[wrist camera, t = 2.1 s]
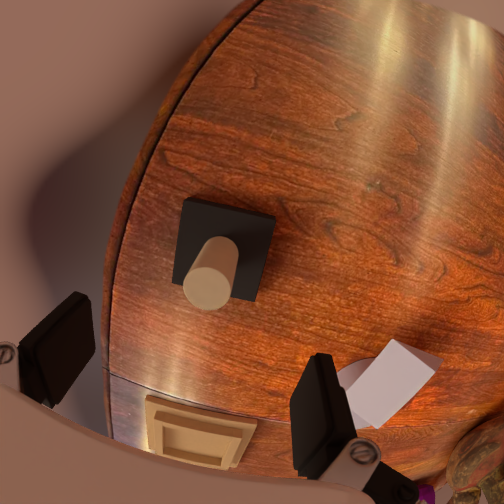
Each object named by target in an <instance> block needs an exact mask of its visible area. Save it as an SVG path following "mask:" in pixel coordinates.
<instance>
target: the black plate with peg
mask: <svg viewBox="0 0 504 504" xmlns="http://www.w3.org/2000/svg"><path fill="white" fill-rule="evenodd" d="M275 224H276V218H275V216H272V215H268V214H264V213H260V212H255V211H251V210H247V209H242V208H238V207H233V206H229V205H224V204H220V203H215V202H211V201H206V200H201V199H196V198H192V197H188V198H186V199H185V200H184V202H183V207H182V213H181V220H180V226H179V232H178V239H177V246H176V253H175V261H174V268H173V277H172V283H174V284H178V285H182V286H183V289H184V293H185V296H186V297H187V299H188V300H189V301H190V302H191V303H192V304H193V305H194V306H196V307H198V308H200V309H204V310H215V309H218V308H221V307H222V306H224V305H225V304H226V303H227V302H228V300H229V298H230V297H233V298H238V299H242V300H247V301H252V302H255V299H256V295H257V291H258V288H259V284H260V280H261V277H262V273H263V269H264V265H265V262H266V258H267V254H268V250H269V247H270V243H271V239H272V235H273V231H274V228H275Z"/></svg>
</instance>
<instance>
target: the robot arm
mask: <svg viewBox="0 0 504 504" xmlns="http://www.w3.org/2000/svg"><path fill="white" fill-rule="evenodd" d="M19 344H20V345H19V346H18V347H16V346H15V345H14V344H13V343H10V342H0V504H428V503H427V502H426V501H425V500H422V501H421V500H420V499H419V488H418V486H417V485H416V483H414V482H413V481H412V480H410V479H409V478H407V477H405V476H404V475H402V474H400V473H399V472H397V471H395V470H394V469H392V468H391V467H389V466H388V465H386V464H384V463H383V462H381V461H380V459H381V451H380V448H379V447H378V445H377V444H376V443H375V442H373V441H372V440H370V439H368V438H363V437H357V433H356V429H355V425H354V421H353V418H352V414H351V410H350V407H349V403H348V399H347V396H346V392H345V389H344V388H343V387H342V386H340V384H339V380H338V376H337V373H336V369H335V366H334V362H333V359H332V356H331V355H330V354H324V353H316V355H315V356H313V355H312V356H311V357H310V359H309V361H308V363H307V366H306V368H305V370H304V372H303V374H302V376H301V378H300V380H299V382H298V384H297V386H296V388H295V390H294V392H293V394H292V396H291V399H290V418H291V433H292V449H293V466H294V469H295V470H298V476H302V477H307V479H294V478H280V477H268V476H259V475H251V474H243V473H236V472H229V471H223V470H218V469H212V468H207V467H202V466H198V465H193V464H189V463H185V462H181V461H177V460H173V459H170V458H166V457H162V456H159V455H156V454H152V453H149V452H146V451H143V450H140V449H137V448H134V447H132V446H129V445H126V444H123V443H121V442H118V441H116V440H113V439H110V438H108V437H106V436H103V435H101V434H98V433H96V432H94V431H92V430H89V429H87V428H85V427H83V426H81V425H79V424H77V423H75V422H73V421H71V420H69V419H67V418H65V417H63V416H61V415H59V414H57V413H55V412H54V411H52V410H50V409H48V408H46V407H44V406H43V405H41V404H42V403H43V404H44V405H46V406H47V407H49V408H51V409H52V408H53V407H54V406H55V404H59V403H60V402H61V400H62V399H63V397H64V396H65V394H66V393H67V391H68V390H69V388H70V387H71V386H72V384H73V383H74V381H75V380H76V378H77V377H78V375H79V374H80V373H81V371H82V370H83V369H84V367H85V366H86V364H87V363H88V362H89V360H90V359H91V357H92V356H93V355H94V353H95V339H94V331H93V321H92V309H91V301H90V300H89V299H88V296H87V295H85V294H82V293H79V292H76V291H75V292H73V293H72V294H71V295H70V296H69V297H68V298H67V299H65V300H64V301H63V302H62V303H61V304H60V305H58V306H57V307H56V308H55V309H54V310H53V311H52V312H51V313H50V314H48V315H47V316H46V317H45V318H44V319H43V320H42V321H41V322H40V323H39V324H38V325H37V326H36V327H34V328H33V329H32V330H31V331H30V332H29V333H28V334H27V335H26V336H25V337H24V338H23V339H22V340H21V341H20V342H19Z"/></svg>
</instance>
